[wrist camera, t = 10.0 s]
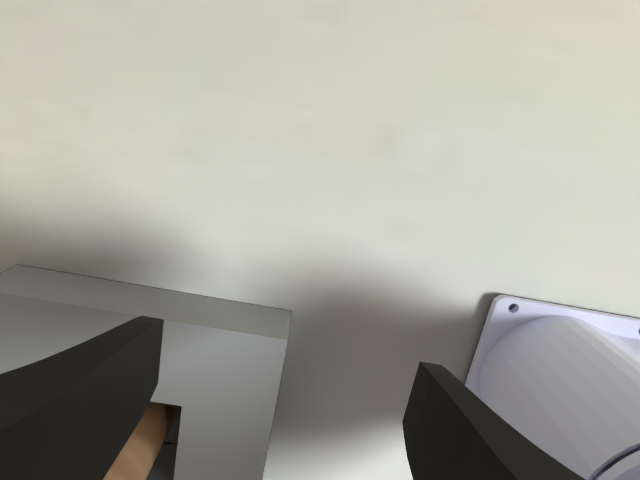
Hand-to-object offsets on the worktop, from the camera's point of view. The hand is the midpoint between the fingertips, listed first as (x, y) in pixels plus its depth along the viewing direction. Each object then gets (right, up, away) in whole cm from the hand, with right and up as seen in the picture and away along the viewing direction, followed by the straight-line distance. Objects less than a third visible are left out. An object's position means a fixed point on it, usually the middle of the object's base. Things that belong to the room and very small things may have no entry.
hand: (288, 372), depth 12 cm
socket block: (-9, -5, +12) cm, 16 cm away
